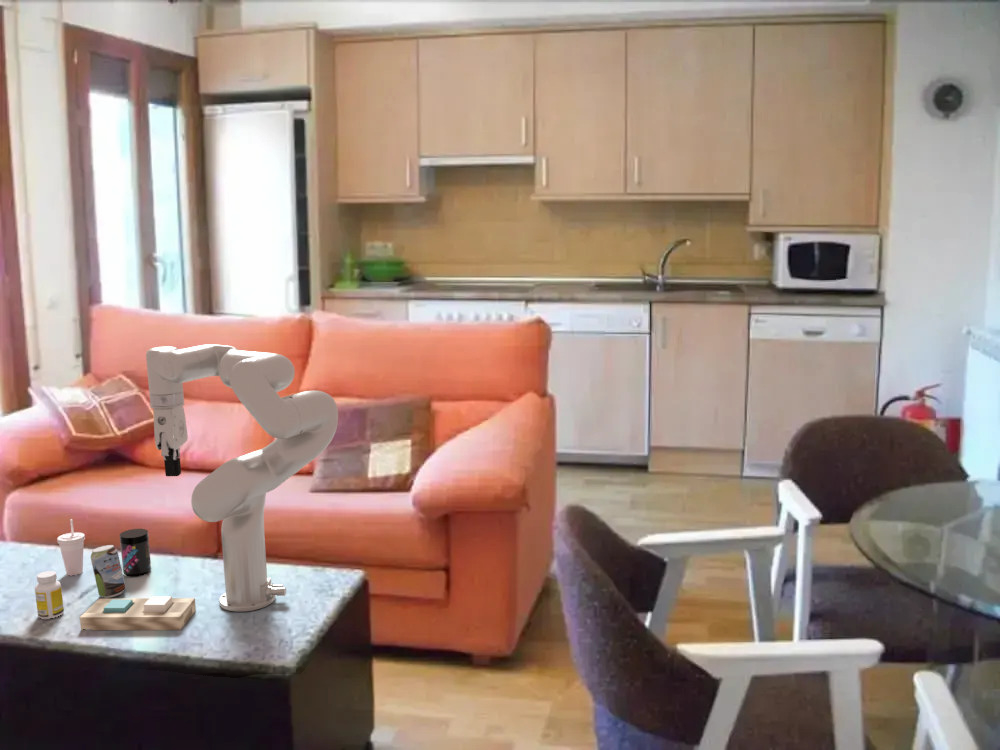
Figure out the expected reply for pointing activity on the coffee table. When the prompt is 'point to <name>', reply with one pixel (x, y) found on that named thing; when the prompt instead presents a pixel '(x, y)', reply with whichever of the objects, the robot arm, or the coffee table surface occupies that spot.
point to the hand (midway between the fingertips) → (173, 475)
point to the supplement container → (135, 552)
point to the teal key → (118, 606)
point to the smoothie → (72, 551)
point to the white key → (158, 604)
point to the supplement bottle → (48, 595)
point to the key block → (138, 616)
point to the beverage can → (107, 571)
